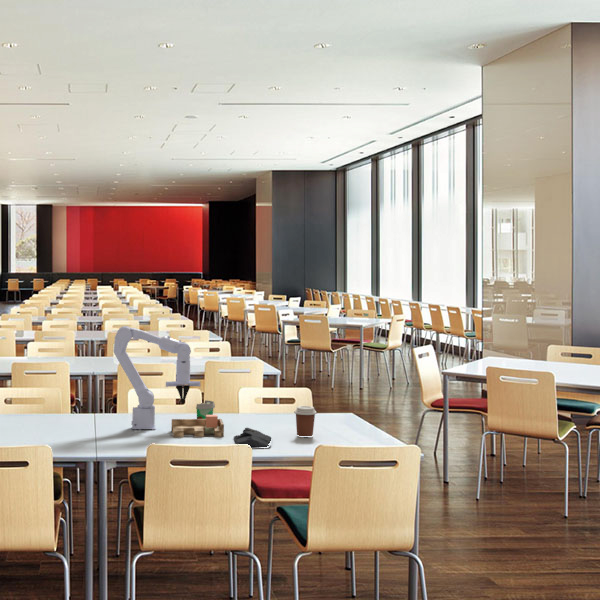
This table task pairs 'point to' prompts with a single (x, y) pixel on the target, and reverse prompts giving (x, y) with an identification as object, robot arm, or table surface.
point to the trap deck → (196, 428)
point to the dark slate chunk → (253, 438)
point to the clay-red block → (211, 421)
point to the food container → (205, 409)
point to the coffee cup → (305, 420)
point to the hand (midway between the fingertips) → (182, 403)
